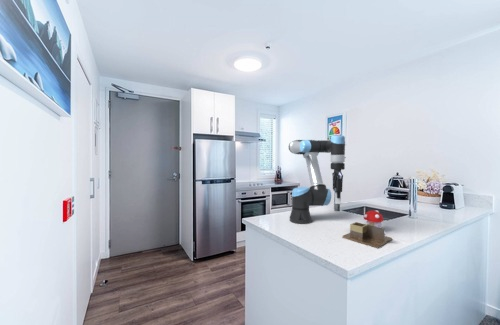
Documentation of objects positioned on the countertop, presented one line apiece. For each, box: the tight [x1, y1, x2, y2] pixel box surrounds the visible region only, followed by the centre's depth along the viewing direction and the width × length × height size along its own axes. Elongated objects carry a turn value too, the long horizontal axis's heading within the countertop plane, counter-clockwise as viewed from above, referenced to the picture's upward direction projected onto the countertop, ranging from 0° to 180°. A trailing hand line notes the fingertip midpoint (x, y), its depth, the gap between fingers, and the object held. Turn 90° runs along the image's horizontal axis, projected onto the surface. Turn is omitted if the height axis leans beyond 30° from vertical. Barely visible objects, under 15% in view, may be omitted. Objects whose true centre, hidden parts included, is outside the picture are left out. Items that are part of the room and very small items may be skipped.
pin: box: [333, 188, 341, 212], centre depth 124 cm, size 3×3×13 cm
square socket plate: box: [341, 221, 393, 249], centre depth 116 cm, size 18×18×8 cm
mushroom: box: [363, 209, 385, 228], centre depth 130 cm, size 11×11×12 cm
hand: (337, 202), depth 124 cm, fingers closed on pin, 3 cm apart
